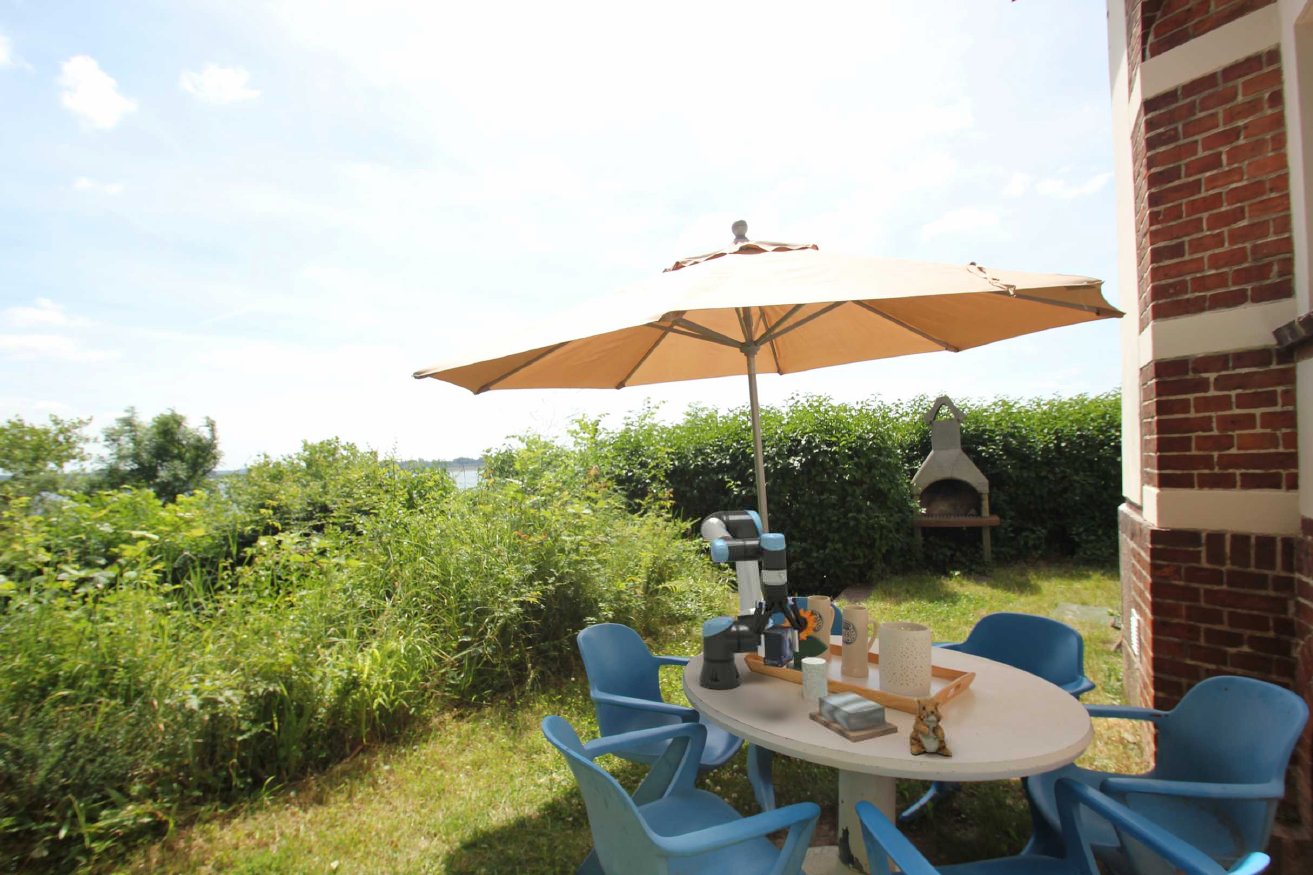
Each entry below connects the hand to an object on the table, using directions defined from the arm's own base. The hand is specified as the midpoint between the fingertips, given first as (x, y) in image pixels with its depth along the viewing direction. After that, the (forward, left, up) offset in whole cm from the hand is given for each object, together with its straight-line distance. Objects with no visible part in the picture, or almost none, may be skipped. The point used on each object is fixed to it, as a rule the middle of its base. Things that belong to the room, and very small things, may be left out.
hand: (778, 653), depth 181 cm
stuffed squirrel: (+34, +24, -20) cm, 46 cm away
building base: (+13, +16, -20) cm, 28 cm away
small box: (0, 0, -3) cm, 3 cm away
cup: (-11, +21, -20) cm, 31 cm away
